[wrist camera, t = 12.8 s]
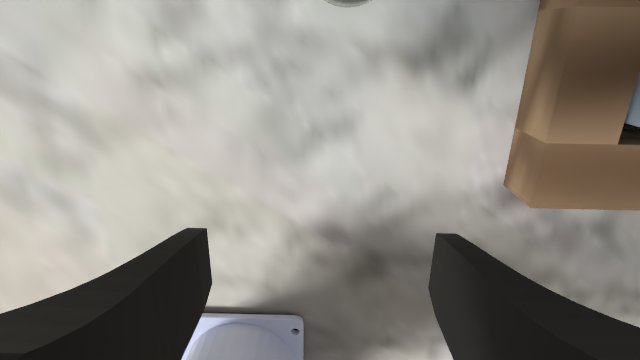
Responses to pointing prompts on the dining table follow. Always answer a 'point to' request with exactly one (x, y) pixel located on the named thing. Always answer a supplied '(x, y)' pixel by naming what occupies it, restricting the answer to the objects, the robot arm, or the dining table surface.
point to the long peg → (634, 107)
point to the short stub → (347, 2)
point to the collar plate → (579, 109)
